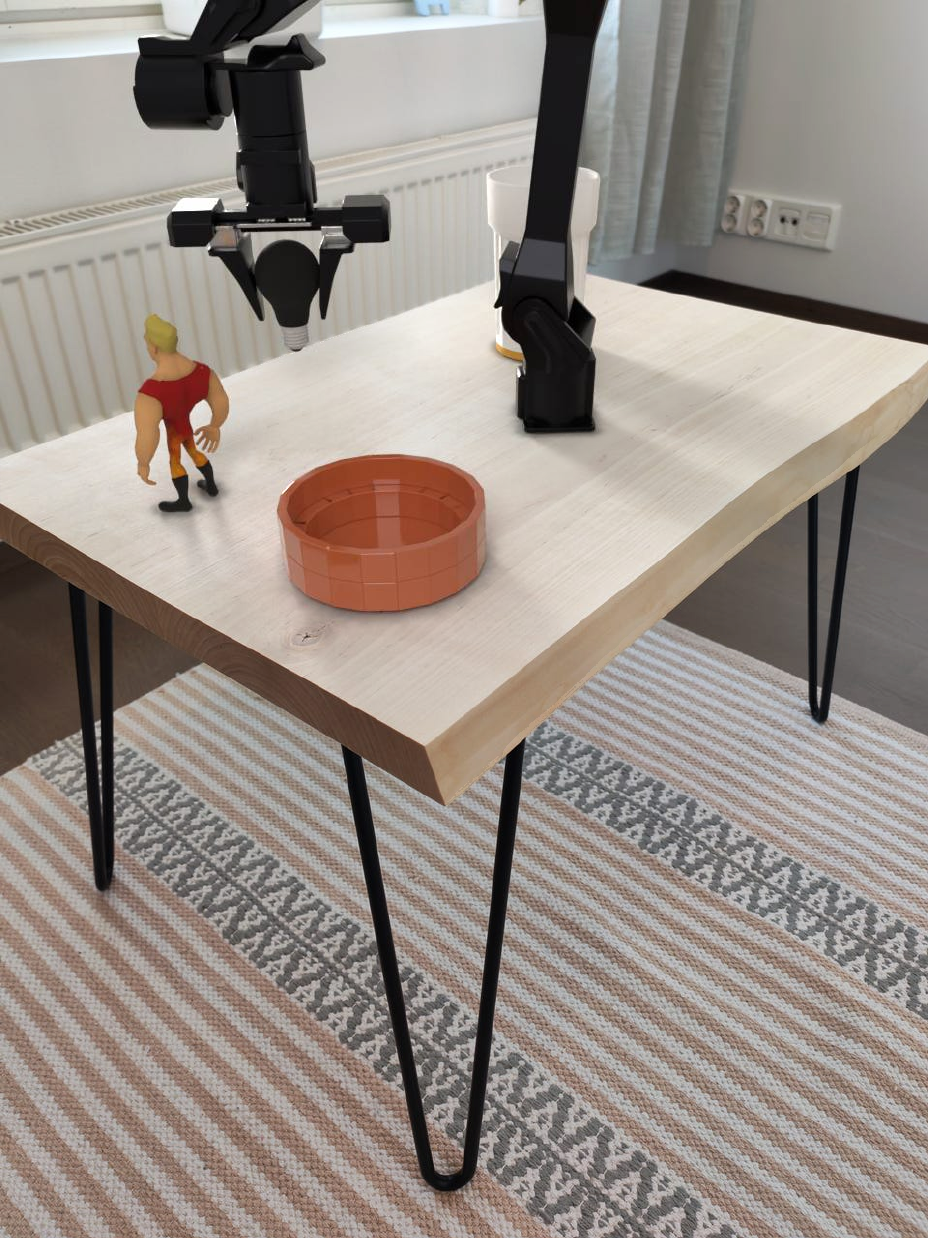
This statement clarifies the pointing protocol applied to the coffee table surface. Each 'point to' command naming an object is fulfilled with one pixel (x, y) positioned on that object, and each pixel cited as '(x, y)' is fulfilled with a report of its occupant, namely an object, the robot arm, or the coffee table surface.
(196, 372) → the action figure
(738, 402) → the coffee table surface
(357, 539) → the bowl
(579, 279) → the cup
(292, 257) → the light bulb
